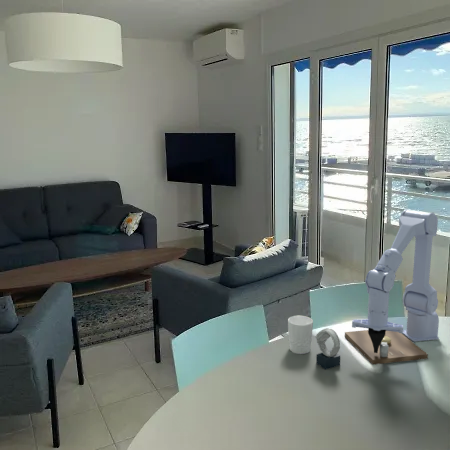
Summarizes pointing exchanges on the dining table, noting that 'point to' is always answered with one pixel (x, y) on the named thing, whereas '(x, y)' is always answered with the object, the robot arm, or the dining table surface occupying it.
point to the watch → (327, 357)
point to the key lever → (384, 346)
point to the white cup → (300, 334)
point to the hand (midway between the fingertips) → (375, 351)
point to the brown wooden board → (397, 348)
